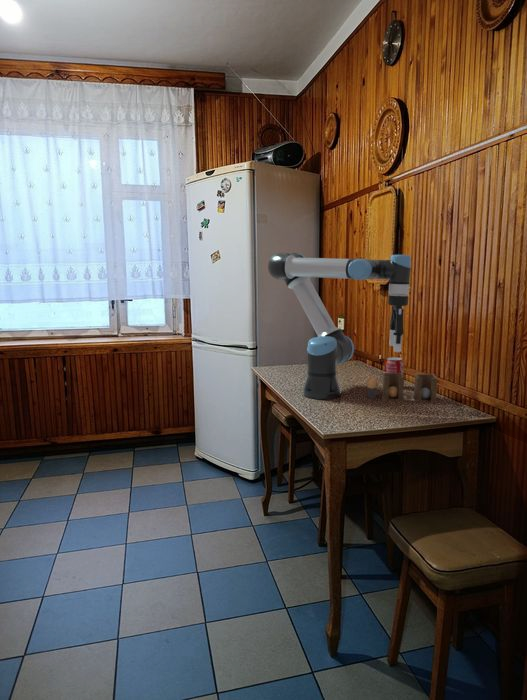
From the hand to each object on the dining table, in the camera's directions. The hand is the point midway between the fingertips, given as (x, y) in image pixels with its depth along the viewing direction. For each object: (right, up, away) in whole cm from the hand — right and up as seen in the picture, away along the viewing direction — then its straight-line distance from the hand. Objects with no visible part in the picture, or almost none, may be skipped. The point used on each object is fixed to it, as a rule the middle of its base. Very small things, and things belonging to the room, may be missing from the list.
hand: (394, 348), depth 186 cm
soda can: (+4, -17, +16) cm, 24 cm away
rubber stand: (-9, -20, -1) cm, 22 cm away
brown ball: (-9, -16, -2) cm, 19 cm away
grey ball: (+10, -19, -5) cm, 22 cm away
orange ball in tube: (-2, -19, -3) cm, 19 cm away
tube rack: (+4, -20, -4) cm, 21 cm away
